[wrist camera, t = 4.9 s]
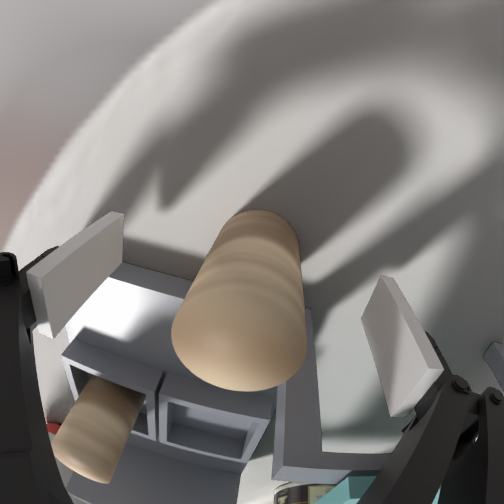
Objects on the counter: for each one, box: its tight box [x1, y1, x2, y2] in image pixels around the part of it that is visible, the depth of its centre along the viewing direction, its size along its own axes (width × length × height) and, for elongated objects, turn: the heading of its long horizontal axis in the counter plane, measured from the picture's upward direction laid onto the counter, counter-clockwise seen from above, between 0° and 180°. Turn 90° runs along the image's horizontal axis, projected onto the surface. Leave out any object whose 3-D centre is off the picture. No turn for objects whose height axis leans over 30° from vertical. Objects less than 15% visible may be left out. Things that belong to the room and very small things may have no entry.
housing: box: [31, 262, 504, 504], centre depth 18 cm, size 22×34×10 cm, turn 77°
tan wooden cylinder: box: [51, 374, 146, 484], centre depth 17 cm, size 4×4×8 cm
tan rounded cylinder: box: [171, 210, 307, 391], centre depth 13 cm, size 4×4×8 cm
